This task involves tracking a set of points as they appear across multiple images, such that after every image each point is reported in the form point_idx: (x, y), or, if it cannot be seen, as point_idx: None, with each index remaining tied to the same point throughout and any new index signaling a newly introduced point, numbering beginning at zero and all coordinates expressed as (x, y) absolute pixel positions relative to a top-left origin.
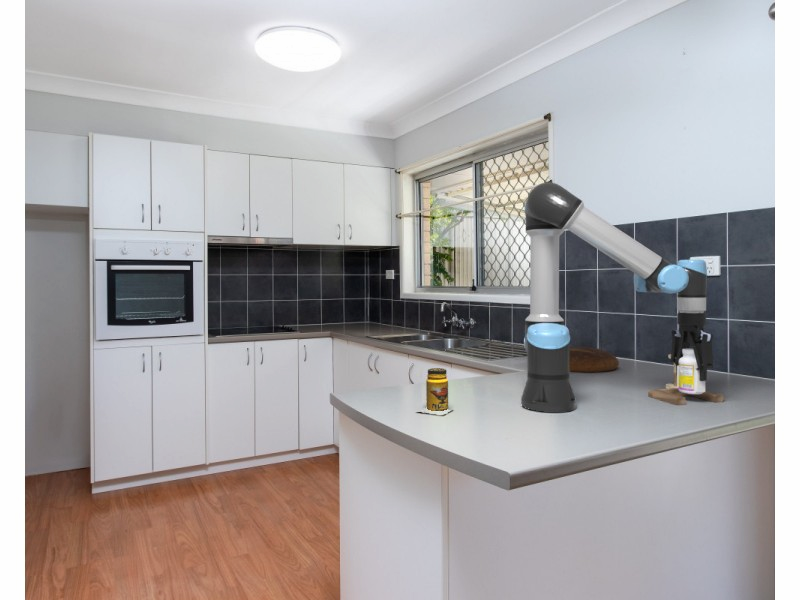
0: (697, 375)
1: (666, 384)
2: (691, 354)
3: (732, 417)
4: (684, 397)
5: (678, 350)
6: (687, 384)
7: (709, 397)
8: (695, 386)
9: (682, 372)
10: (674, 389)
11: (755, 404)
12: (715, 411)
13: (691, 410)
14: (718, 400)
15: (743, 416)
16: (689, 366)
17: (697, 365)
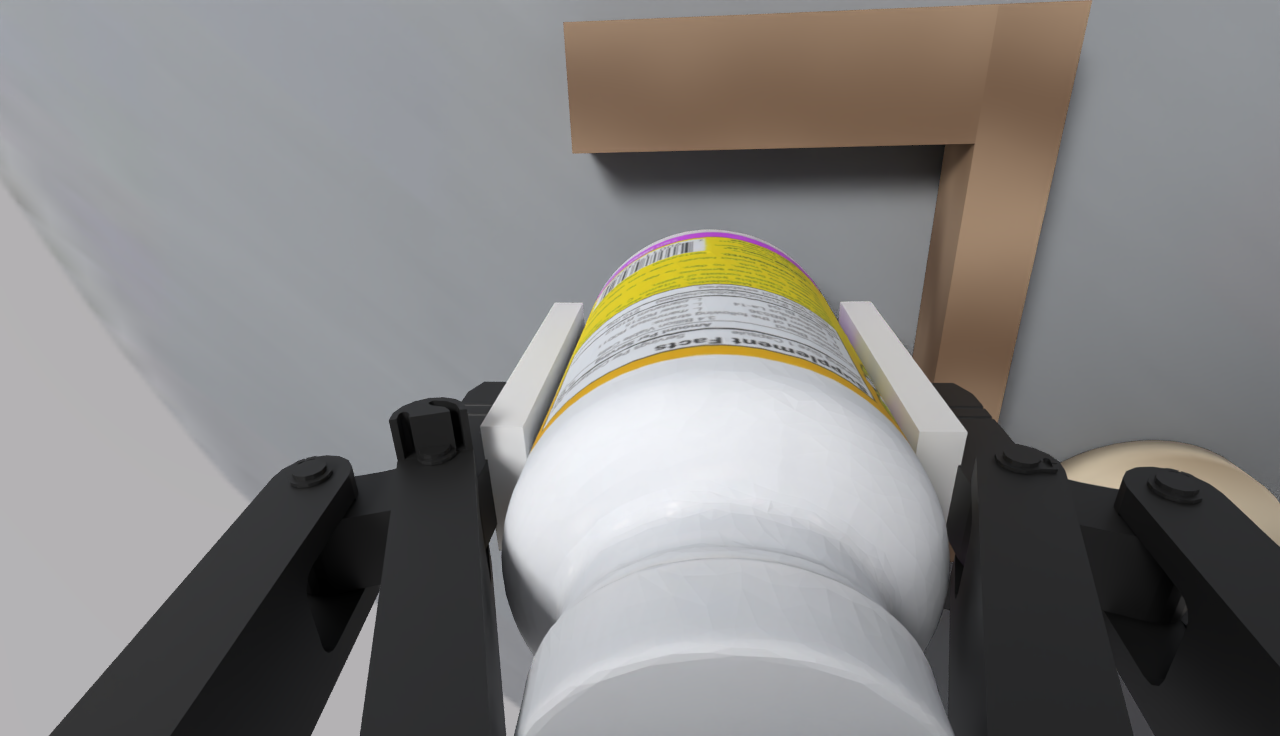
0: (505, 385)
1: (1274, 506)
2: (575, 615)
3: (100, 190)
4: (577, 145)
5: (1112, 686)
6: (631, 272)
7: None
8: (570, 323)
9: (697, 298)
10: (957, 336)
11: None
12: (302, 213)
13: (346, 14)
14: None
15: (143, 298)
16: (575, 390)
17: (468, 473)
